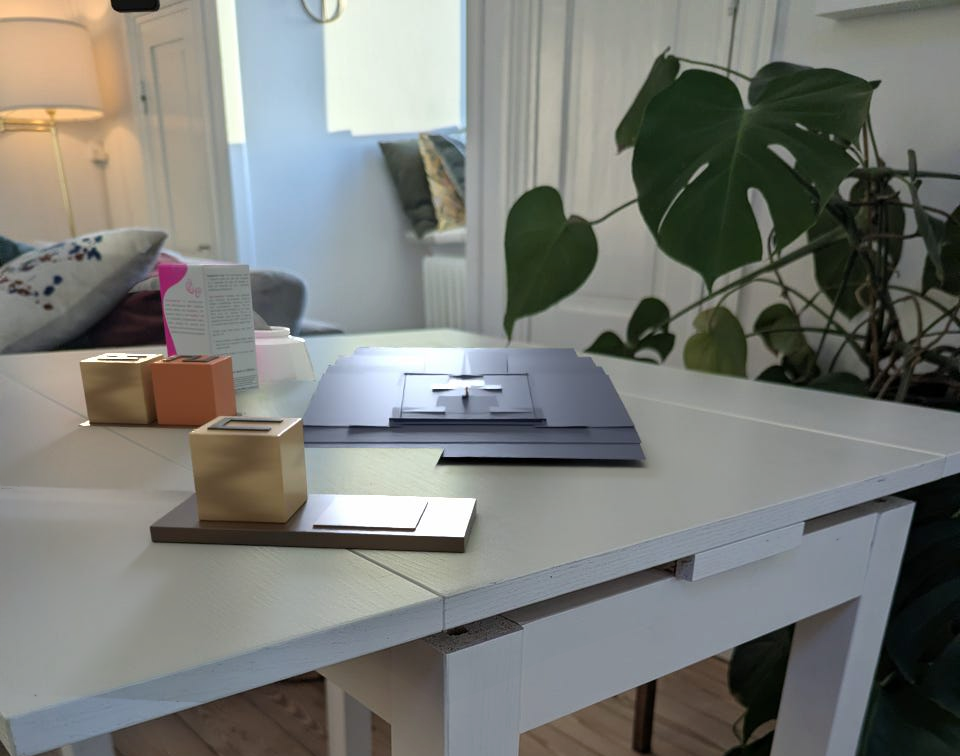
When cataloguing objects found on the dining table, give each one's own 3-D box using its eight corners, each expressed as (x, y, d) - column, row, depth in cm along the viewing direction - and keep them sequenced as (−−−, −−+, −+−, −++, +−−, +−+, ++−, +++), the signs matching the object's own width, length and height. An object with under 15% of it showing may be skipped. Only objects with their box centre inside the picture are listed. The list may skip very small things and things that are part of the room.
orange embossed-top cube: (158, 424, 70) (149, 361, 69) (180, 413, 75) (173, 353, 73) (217, 426, 70) (211, 362, 68) (237, 414, 74) (231, 354, 72)
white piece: (309, 389, 90) (302, 278, 86) (122, 388, 90) (106, 277, 86) (323, 374, 99) (317, 273, 95) (152, 373, 99) (138, 272, 95)
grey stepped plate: (591, 377, 90) (594, 338, 88) (646, 497, 64) (651, 446, 62) (337, 376, 89) (334, 337, 87) (290, 497, 64) (284, 445, 62)
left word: (79, 435, 70) (67, 361, 68) (116, 419, 76) (106, 350, 74) (219, 439, 70) (212, 364, 67) (246, 422, 75) (240, 353, 73)
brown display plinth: (151, 541, 48) (136, 435, 45) (200, 503, 54) (189, 408, 52) (464, 552, 46) (464, 443, 44) (476, 512, 53) (477, 416, 51)
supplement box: (262, 395, 87) (251, 262, 82) (214, 404, 82) (200, 264, 78) (218, 389, 90) (205, 260, 85) (169, 398, 85) (152, 262, 81)
